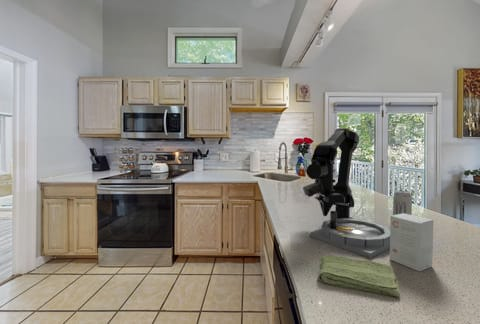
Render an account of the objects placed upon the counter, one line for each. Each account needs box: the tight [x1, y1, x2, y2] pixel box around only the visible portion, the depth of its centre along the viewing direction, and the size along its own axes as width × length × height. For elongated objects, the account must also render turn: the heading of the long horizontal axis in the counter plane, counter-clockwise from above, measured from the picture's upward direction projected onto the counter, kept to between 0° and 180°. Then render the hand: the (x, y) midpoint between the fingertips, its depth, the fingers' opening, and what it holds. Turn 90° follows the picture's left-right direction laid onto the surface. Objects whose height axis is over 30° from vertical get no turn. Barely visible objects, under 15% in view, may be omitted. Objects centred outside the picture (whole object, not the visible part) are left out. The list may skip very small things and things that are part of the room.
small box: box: [389, 213, 434, 272], centre depth 68 cm, size 8×6×13 cm
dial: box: [329, 210, 382, 237], centre depth 87 cm, size 17×17×7 cm
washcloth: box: [317, 254, 401, 297], centre depth 62 cm, size 13×18×3 cm
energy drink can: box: [392, 190, 413, 215], centre depth 95 cm, size 6×6×15 cm
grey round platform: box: [309, 218, 390, 259], centre depth 87 cm, size 22×22×4 cm
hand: (324, 215), depth 96 cm, fingers closed
